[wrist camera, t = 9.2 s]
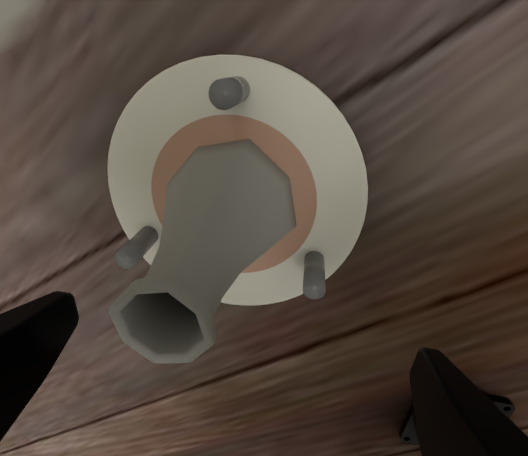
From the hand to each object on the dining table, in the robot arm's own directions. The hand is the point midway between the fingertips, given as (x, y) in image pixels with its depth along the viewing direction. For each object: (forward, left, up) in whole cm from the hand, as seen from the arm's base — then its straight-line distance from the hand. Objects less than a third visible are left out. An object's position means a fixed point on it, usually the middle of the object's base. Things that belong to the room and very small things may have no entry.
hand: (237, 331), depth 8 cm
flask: (-1, +3, -11) cm, 11 cm away
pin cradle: (-1, +3, -12) cm, 12 cm away
